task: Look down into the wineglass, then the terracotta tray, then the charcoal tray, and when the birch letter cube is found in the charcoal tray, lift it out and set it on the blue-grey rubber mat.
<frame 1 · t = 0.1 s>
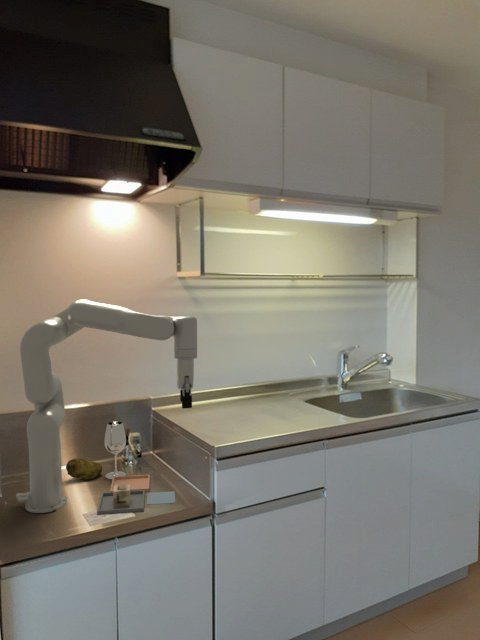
hand: (186, 404, 166), 31 cm above the countertop, tool pointing down, fingers open, 9 cm apart
wineglass: (115, 476, 186), on the countertop
terracotta tray: (130, 486, 176), on the countertop
potato: (84, 479, 183), on the countertop
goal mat: (161, 499, 165), on the countertop
letter cube: (122, 503, 161), resting on charcoal tray
charcoal tray: (122, 504, 161), on the countertop
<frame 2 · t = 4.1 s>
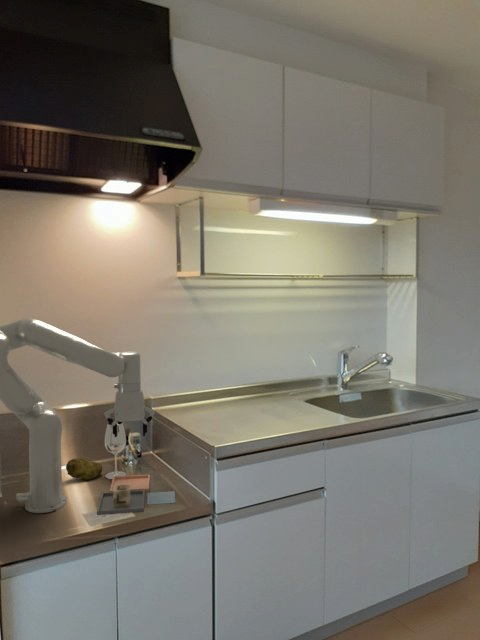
hand: (130, 435, 175), 18 cm above the countertop, tool pointing down, fingers open, 9 cm apart
nothing on the countertop moved.
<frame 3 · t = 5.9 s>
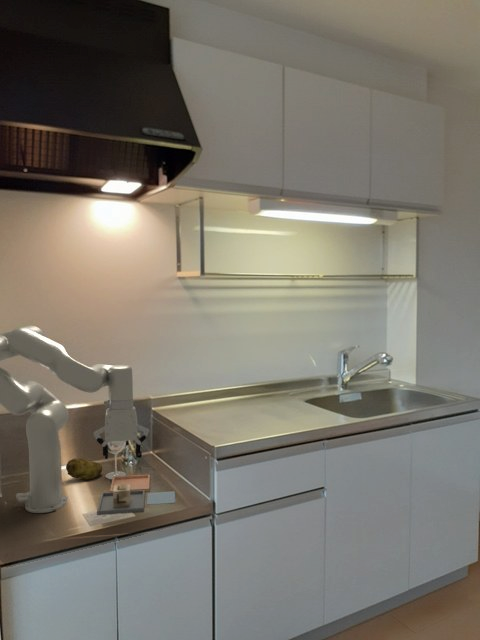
hand: (122, 456, 160), 16 cm above the countertop, tool pointing down, fingers open, 9 cm apart
nothing on the countertop moved.
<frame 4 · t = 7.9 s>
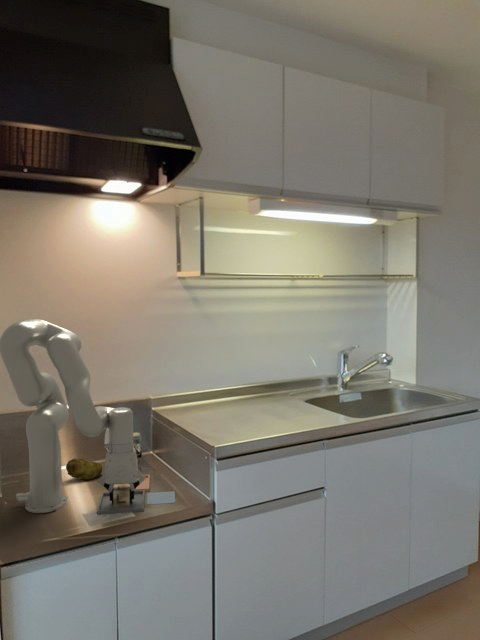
hand: (122, 501, 161), 1 cm above the countertop, tool pointing down, fingers closed on letter cube, 4 cm apart
letter cube: (122, 503, 161), resting on charcoal tray, touching gripper
everything else where it was.
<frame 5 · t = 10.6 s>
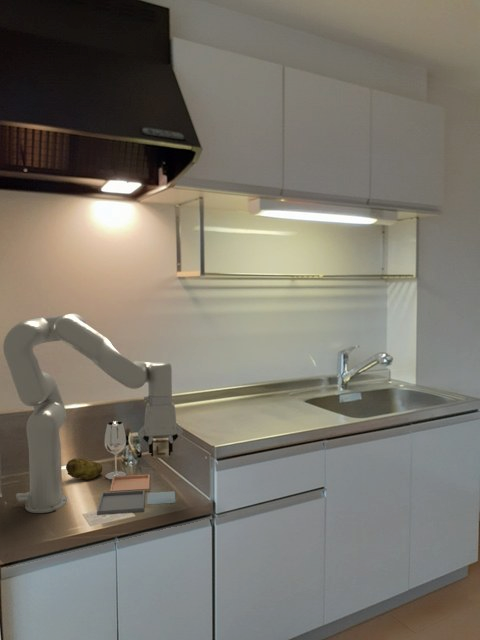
hand: (160, 454, 164), 15 cm above the countertop, tool pointing down, fingers closed on letter cube, 4 cm apart
letter cube: (160, 455, 164), point 15 cm above the countertop, touching gripper
everything else where it was.
when the fingers open (3 cm above the countertop, at t = 13.3 s): letter cube drops 1 cm, resting on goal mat.
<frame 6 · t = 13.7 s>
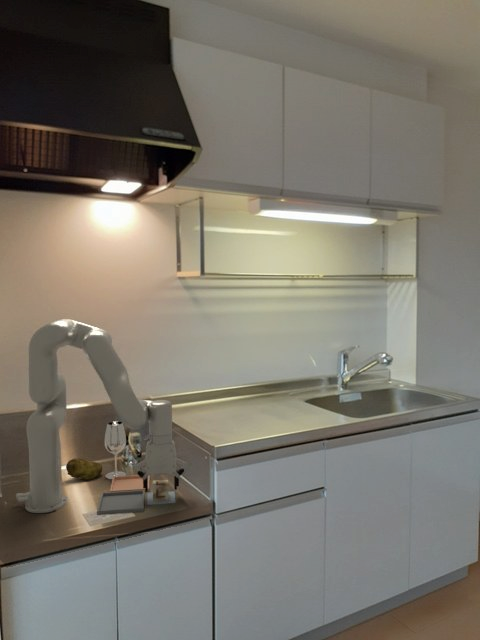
hand: (161, 489, 165), 3 cm above the countertop, tool pointing down, fingers open, 9 cm apart
letter cube: (160, 497, 165), point 1 cm above the countertop, touching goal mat
everything else where it was.
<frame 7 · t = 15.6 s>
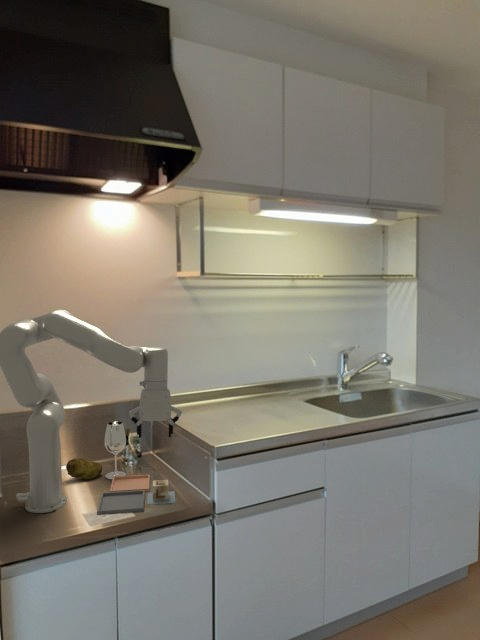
hand: (155, 436, 164), 21 cm above the countertop, tool pointing down, fingers open, 9 cm apart
nothing on the countertop moved.
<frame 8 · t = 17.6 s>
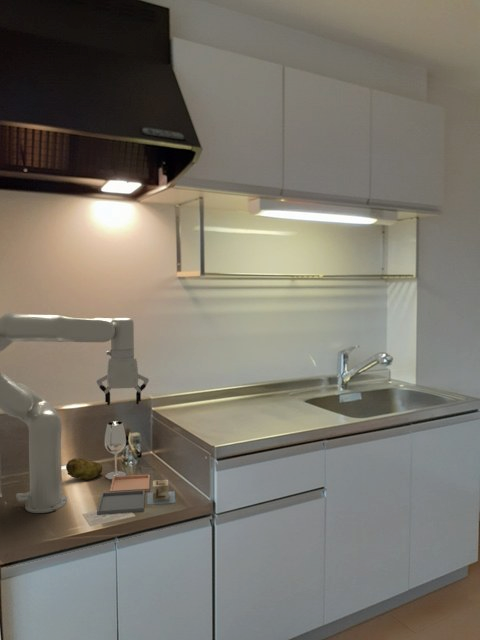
hand: (123, 403, 170), 30 cm above the countertop, tool pointing down, fingers open, 9 cm apart
nothing on the countertop moved.
at the end: letter cube inside the target area on the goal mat (0.2 cm from its centre), point 0.6 cm above the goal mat's base; letter cube tilted 0°; the gripper is holding nothing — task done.
